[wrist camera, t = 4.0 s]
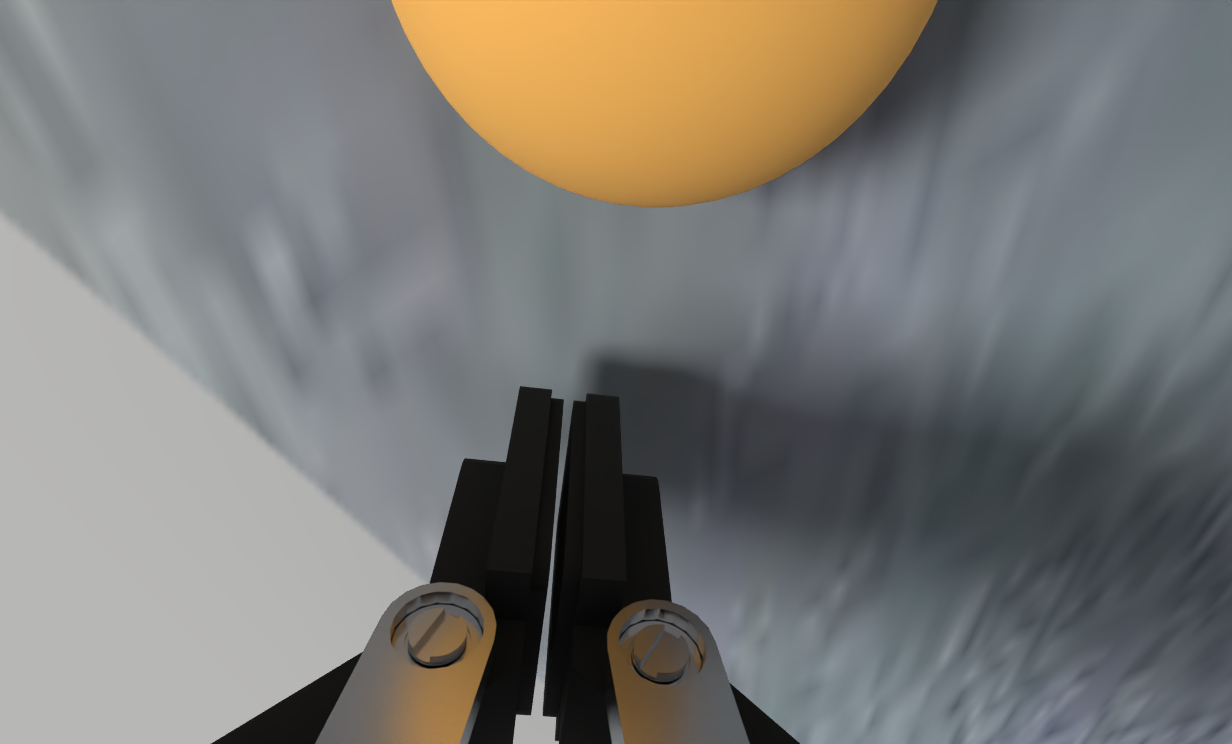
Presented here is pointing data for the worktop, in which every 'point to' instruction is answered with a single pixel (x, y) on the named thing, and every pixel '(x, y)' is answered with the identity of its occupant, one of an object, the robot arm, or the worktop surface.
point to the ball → (661, 85)
